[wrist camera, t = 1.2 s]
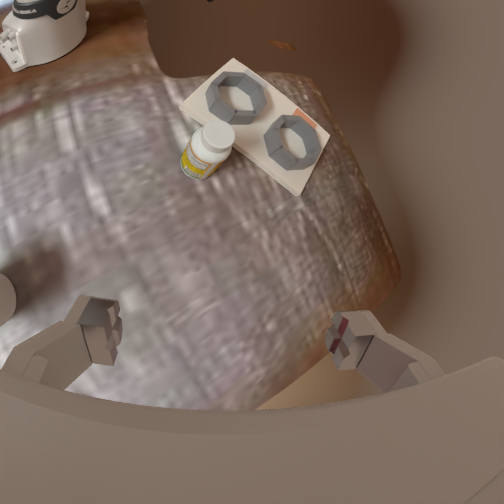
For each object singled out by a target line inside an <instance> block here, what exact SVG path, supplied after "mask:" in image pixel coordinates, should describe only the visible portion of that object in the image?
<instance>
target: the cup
mask: <svg viewBox="0 0 504 504" xmlns="http://www.w3.org/2000/svg"><path fill="white" fill-rule="evenodd" d="M15 308H16V293H15V290H14V287H13V285H12V283H11V282H10V280H9V279H8V278H7V277H6V276H4V275H3V274H1V273H0V327H1V326H2V325H3V324H5V323H6V322H7V321H8V320H9V319H10V318H11V317H12V316H13V314H14V311H15Z"/></svg>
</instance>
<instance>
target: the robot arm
mask: <svg viewBox="0 0 504 504" xmlns="http://www.w3.org/2000/svg"><path fill="white" fill-rule="evenodd" d="M12 8H13V10H12V11H11V12H10V13H9V14H8V15H7V16H6V18H5V19H4V21H3V23H2V28H3V33H2V34H0V53H1V55H2V56H3V58H4V59H5V61H6V62H7V64H8V65H9V66H10V68H11V69H12V71H13V72H17V71H20V70H22V69H24V68H26V67H28V66H32V65H39V64H44V63H47V62H50V61H53V60H55V59H57V58H59V57H61V56H63V55H65V54H66V53H68V52H70V51H71V50H72V49H74V48H75V47H76V46H77V45H78V44H79V43H80V42H81V41H82V40H83V38H84V36H85V34H86V31H87V27H86V22H87V20H88V18H89V12H88V11H86V8H85V0H14V3H13V7H12ZM119 311H120V307H119V302H118V301H117V300H113V299H106V298H99V297H92V296H85V295H80V296H79V297H78V298H77V300H76V301H75V303H74V305H73V306H72V308H71V310H70V311H69V313H68V315H67V317H66V318H65V320H64V321H59V322H57V323H56V324H54V325H52V326H50V327H49V328H47V329H45V330H43V331H41V332H40V333H38V334H36V335H34V336H33V337H31V338H29V339H27V340H26V341H24V342H22V343H20V344H19V345H17V346H15V347H14V348H13V350H12V351H11V353H10V355H9V357H8V358H7V360H6V362H5V364H4V366H3V367H2V369H1V370H0V504H504V360H502V359H500V358H498V357H490V358H487V359H485V360H483V361H481V362H478V363H476V364H473V365H471V366H469V367H466V368H463V369H461V370H458V371H455V372H453V373H450V374H447V375H445V374H444V373H443V371H442V370H441V368H440V367H439V366H438V364H437V363H436V362H435V360H434V359H433V358H432V357H430V356H429V355H427V354H425V353H423V352H422V351H420V350H418V349H416V348H415V347H413V346H411V345H409V344H407V343H406V342H404V341H402V340H400V339H398V338H397V337H395V336H393V335H392V334H387V333H386V331H385V330H384V329H383V327H382V326H381V325H380V323H379V322H378V321H377V319H376V318H375V317H374V315H373V314H372V313H371V311H369V310H360V311H338V312H335V314H334V315H333V318H332V322H333V325H332V326H330V327H329V328H328V331H327V333H326V345H327V348H328V350H329V351H330V352H332V353H333V354H334V356H333V361H334V362H335V365H336V367H337V369H338V370H348V369H356V370H357V371H358V372H360V373H361V374H362V375H363V376H364V377H366V378H367V379H368V380H369V381H370V382H372V383H373V384H374V385H375V386H376V387H377V388H379V389H380V390H381V391H382V392H383V393H381V394H377V395H372V396H368V397H362V398H357V399H352V400H346V401H340V402H334V403H328V404H320V405H312V406H304V407H293V408H282V409H269V410H268V409H267V410H239V411H216V410H188V409H174V408H162V407H152V406H144V405H136V404H129V403H122V402H116V401H111V400H105V399H100V398H95V397H90V396H85V395H81V394H77V393H72V392H68V391H65V389H66V388H67V387H68V386H69V385H70V384H71V383H72V382H73V381H74V380H75V379H76V378H78V377H79V376H80V375H81V374H82V373H83V372H84V371H85V370H86V369H87V368H88V367H90V366H91V365H92V363H96V364H103V365H110V366H114V362H115V359H116V356H117V349H116V346H118V345H119V344H120V342H121V339H122V319H121V318H120V317H119V316H118V314H119Z"/></svg>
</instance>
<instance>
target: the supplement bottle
mask: <svg viewBox="0 0 504 504" xmlns="http://www.w3.org/2000/svg"><path fill="white" fill-rule="evenodd" d="M234 141H235V132H234V130H233V128H232V127H231V126H230V125H229V124H228V123H227V122H225V121H222V120H212V121H210V122H208V123H207V124H206V125H205V126H203V127H201V128H199V129H198V130H197V131H196V132H195V133H194V134H193V136H192V138H191V139H190V141H189V143H188V145H187V147H186V149H185V151H184V152H183V154H182V157H181V167H182V170H183V171H184V173H185V174H186V175H187V176H189V177H191V178H193V179H198V180H201V179H205V178H207V177H209V176H210V175H211V174H212V173H213V172H214V171H215V170H216V169H217V168H218V167H219V166H220V165H221V164H222V163H223V162H224V161H225V160H226V158H227V157H228V156H229V155H230V153H231V149H232V144H233V142H234Z"/></svg>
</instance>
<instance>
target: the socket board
mask: <svg viewBox="0 0 504 504" xmlns="http://www.w3.org/2000/svg"><path fill="white" fill-rule="evenodd" d="M179 109H180V110H182V111H183V112H185V113H186V114H188V115H189V116H190V117H192V118H193V119H195V120H196V121H198V122H199V123H200V124H202V125H203V126H205V125H206V124H207V123H208V122H210V121H212V120H222V121H225V122H227V123H228V124H229V125H230V126H231V127H232V128H233V130H234V132H235V141H234V142H233V144H232V147H234V148H235V149H236V150H238V151H239V152H240V153H242V154H243V155H244V156H246V157H247V158H248V159H249V160H251V161H252V162H253V163H255V164H256V165H257V166H258V167H260V168H261V169H262V170H264V171H265V172H266V173H267V174H269V175H270V176H271V177H272V178H274V179H275V180H276V181H277V182H279V183H280V184H281V185H282V186H284V187H285V188H286V189H287V190H288V191H290V192H291V193H292V194H293V195H294V196H296V197H297V196H299V195H300V194H301V192H302V190H303V188H304V186H305V184H306V183H307V181H308V179H309V177H310V175H311V173H312V171H313V169H314V167H315V165H316V163H317V161H318V159H319V157H320V155H321V153H322V151H323V149H324V147H325V145H326V143H327V141H328V139H329V137H330V135H329V134H328V133H327V132H326V131H325V130H324V129H323V128H322V127H320V126H319V125H318V124H317V123H316V122H315V121H314V120H313V119H312V118H310V117H309V116H308V115H307V114H306V113H305V112H304V111H302V110H301V109H300V108H299V107H298V106H296V105H295V104H294V103H293V102H292V101H290V100H289V99H288V98H287V97H286V96H284V95H283V94H282V93H281V92H279V91H278V90H277V89H275V88H274V87H273V86H272V85H270V84H269V83H268V82H266V81H265V80H264V79H262V78H261V77H260V76H258V75H257V74H256V73H254V72H253V71H251V70H250V69H249V68H247V67H246V66H244V65H243V64H242V63H240V62H239V61H237V60H236V59H234V58H233V59H231V60H230V61H229V62H228V63H226V64H225V65H224V66H223V67H222V68H220V69H219V70H218V71H217V72H216V73H215V74H213V75H212V76H211V77H210V78H209V79H208V80H207V81H205V82H204V83H203V84H202V85H201V86H200V87H199V88H198V89H197V90H196V91H194V92H193V93H192V94H191V95H190V96H189V97H188V98H187V99H186V100H185V101H184V102H183V103H182V104H181V105H180V108H179Z"/></svg>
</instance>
